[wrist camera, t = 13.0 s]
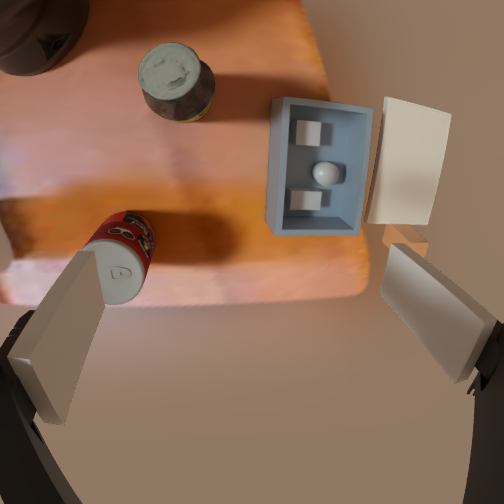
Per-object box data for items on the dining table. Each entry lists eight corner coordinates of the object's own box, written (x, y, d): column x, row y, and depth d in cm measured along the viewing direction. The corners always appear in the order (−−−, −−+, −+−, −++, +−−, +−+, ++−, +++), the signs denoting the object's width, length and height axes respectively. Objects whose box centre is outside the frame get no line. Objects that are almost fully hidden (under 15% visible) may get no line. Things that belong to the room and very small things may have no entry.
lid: (380, 95, 37) (414, 102, 30) (442, 111, 39) (478, 122, 32) (355, 238, 48) (379, 266, 41) (415, 237, 49) (442, 263, 42)
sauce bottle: (210, 122, 37) (218, 127, 19) (159, 123, 36) (120, 130, 18) (212, 71, 34) (223, 30, 16) (161, 72, 33) (124, 34, 15)
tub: (271, 99, 37) (283, 96, 31) (351, 108, 38) (373, 108, 33) (265, 220, 43) (274, 236, 38) (340, 220, 45) (358, 235, 39)
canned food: (165, 251, 43) (156, 293, 33) (115, 270, 43) (95, 314, 33) (142, 200, 39) (124, 229, 30) (91, 222, 39) (62, 256, 29)
